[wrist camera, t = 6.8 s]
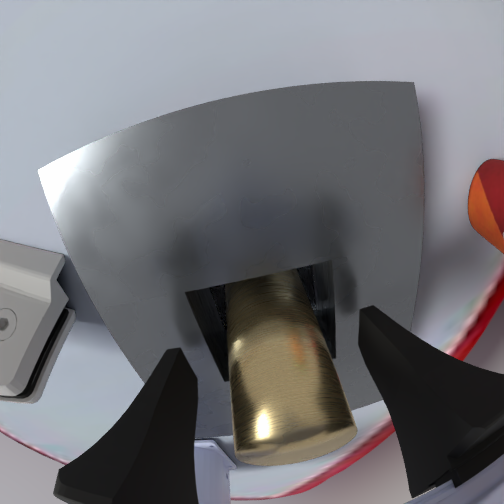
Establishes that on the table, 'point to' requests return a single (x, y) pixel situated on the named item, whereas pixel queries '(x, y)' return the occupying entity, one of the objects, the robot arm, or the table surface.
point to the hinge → (30, 320)
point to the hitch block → (248, 222)
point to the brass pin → (281, 375)
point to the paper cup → (488, 202)
